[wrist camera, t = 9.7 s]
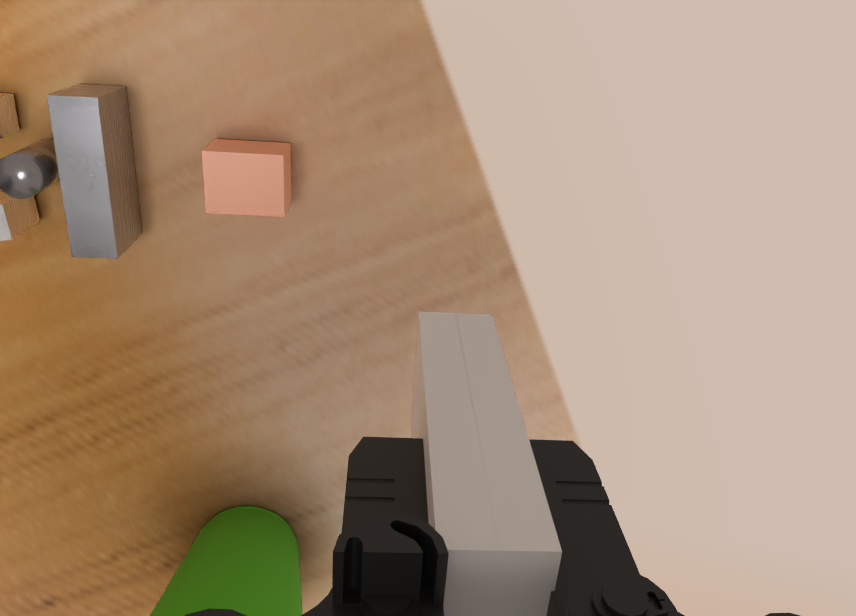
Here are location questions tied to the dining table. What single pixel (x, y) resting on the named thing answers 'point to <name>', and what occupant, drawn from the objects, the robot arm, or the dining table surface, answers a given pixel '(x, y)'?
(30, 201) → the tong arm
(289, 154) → the tab
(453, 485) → the robot arm
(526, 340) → the dining table surface
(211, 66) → the dining table surface
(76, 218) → the tongs base
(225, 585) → the cup
